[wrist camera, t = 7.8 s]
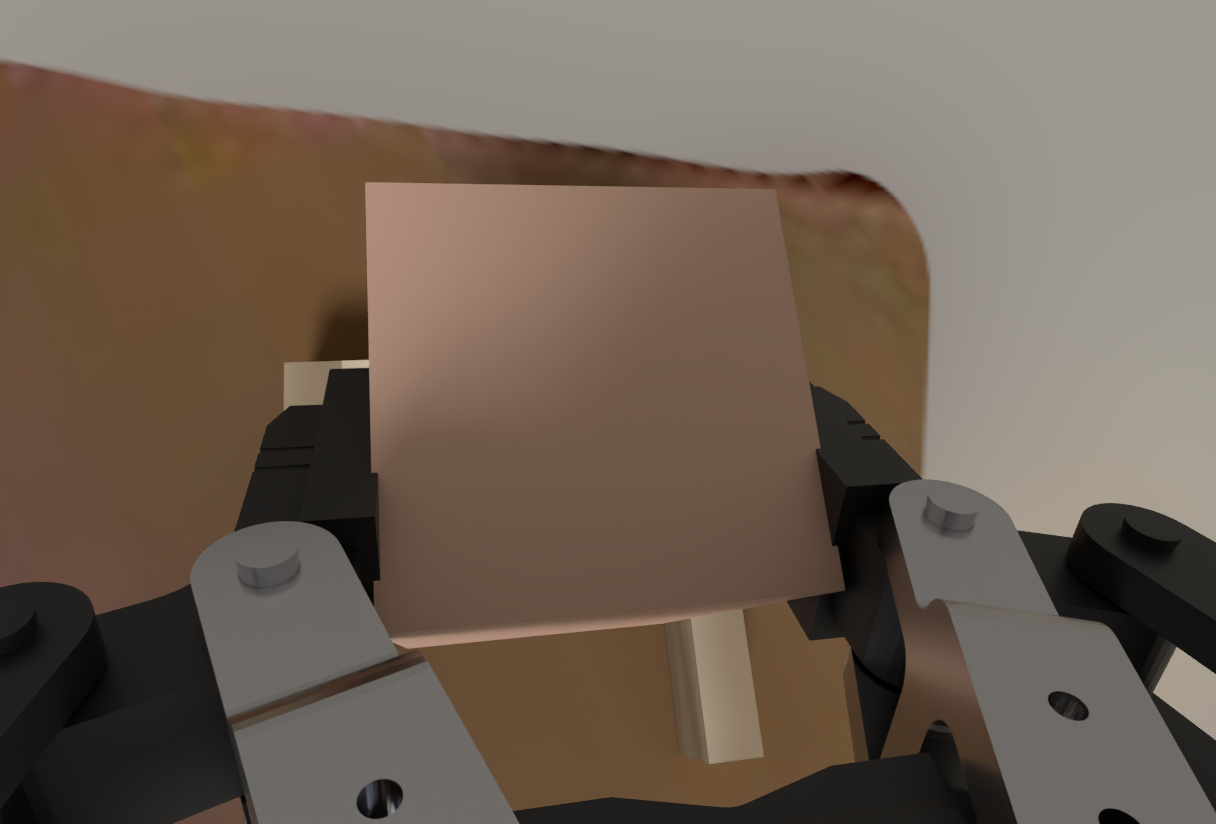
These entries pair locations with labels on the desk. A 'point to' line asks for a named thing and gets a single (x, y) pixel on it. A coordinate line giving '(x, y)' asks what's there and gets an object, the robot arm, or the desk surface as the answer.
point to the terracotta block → (586, 410)
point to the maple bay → (697, 647)
